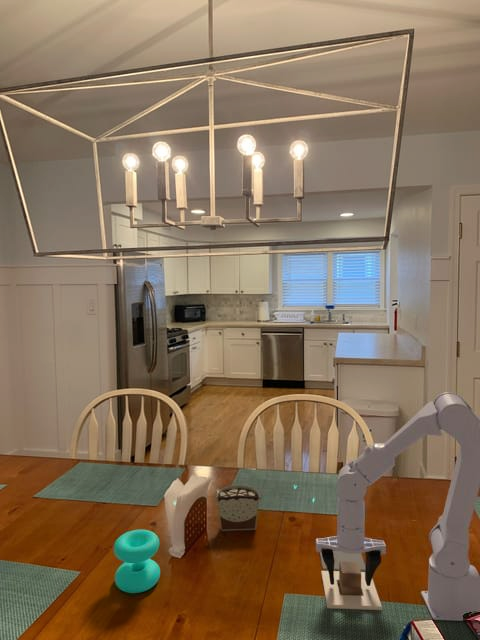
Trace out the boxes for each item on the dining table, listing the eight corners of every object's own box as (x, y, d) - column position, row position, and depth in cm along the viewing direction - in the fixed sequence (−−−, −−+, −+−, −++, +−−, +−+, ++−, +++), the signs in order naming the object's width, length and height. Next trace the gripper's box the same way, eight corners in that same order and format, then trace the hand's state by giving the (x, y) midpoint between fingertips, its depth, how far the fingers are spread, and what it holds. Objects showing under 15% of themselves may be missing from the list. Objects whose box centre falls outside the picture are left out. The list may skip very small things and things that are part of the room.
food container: (259, 517, 132) (259, 483, 131) (261, 529, 126) (261, 494, 125) (216, 518, 132) (215, 484, 131) (215, 530, 125) (215, 495, 124)
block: (357, 585, 103) (357, 562, 103) (360, 598, 99) (361, 573, 99) (339, 584, 103) (339, 561, 103) (341, 597, 99) (342, 573, 99)
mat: (358, 546, 118) (358, 544, 118) (366, 571, 108) (366, 569, 108) (318, 544, 118) (318, 543, 118) (322, 569, 108) (322, 568, 108)
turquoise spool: (132, 558, 97) (104, 541, 103) (134, 603, 98) (105, 583, 104) (168, 537, 105) (140, 522, 111) (169, 578, 106) (141, 561, 112)
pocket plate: (370, 575, 106) (370, 572, 106) (381, 610, 95) (381, 606, 95) (321, 573, 107) (321, 570, 107) (327, 608, 96) (327, 604, 96)
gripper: (380, 513, 103) (379, 571, 105) (314, 512, 104) (314, 569, 105) (389, 531, 96) (387, 593, 98) (318, 529, 97) (317, 590, 98)
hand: (349, 582), depth 101 cm, fingers open, 7 cm apart
